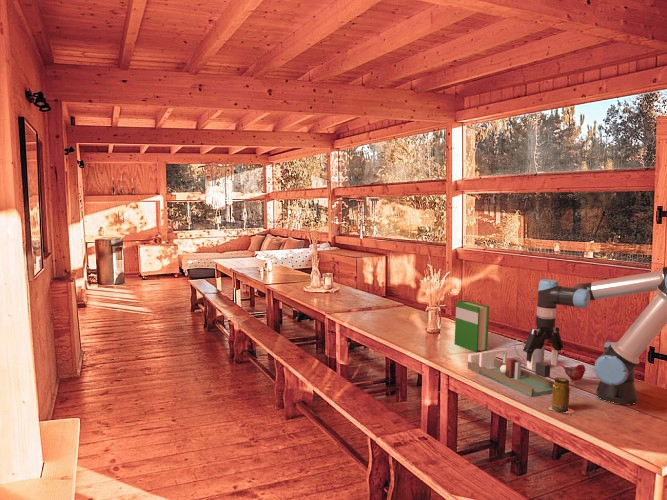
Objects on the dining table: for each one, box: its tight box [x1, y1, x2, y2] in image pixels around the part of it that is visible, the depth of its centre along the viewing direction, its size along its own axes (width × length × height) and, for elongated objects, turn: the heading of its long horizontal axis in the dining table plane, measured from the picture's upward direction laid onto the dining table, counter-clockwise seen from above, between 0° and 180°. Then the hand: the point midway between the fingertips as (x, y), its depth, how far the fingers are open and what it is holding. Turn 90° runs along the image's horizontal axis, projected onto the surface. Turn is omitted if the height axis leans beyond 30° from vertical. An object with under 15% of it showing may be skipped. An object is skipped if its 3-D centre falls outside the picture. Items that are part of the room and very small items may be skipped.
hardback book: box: [453, 300, 490, 353], centre depth 298 cm, size 18×7×24 cm, turn 27°
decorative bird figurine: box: [558, 362, 587, 386], centre depth 246 cm, size 3×18×10 cm, turn 15°
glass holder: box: [513, 335, 546, 372], centre depth 265 cm, size 9×14×15 cm, turn 78°
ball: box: [500, 365, 506, 374], centre depth 251 cm, size 4×4×4 cm
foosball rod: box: [506, 356, 551, 379], centre depth 238 cm, size 20×6×10 cm, turn 26°
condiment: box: [547, 376, 571, 416], centre depth 213 cm, size 7×8×12 cm
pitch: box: [467, 348, 554, 398], centre depth 247 cm, size 40×15×10 cm, turn 26°
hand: (542, 366), depth 231 cm, fingers open, 13 cm apart
